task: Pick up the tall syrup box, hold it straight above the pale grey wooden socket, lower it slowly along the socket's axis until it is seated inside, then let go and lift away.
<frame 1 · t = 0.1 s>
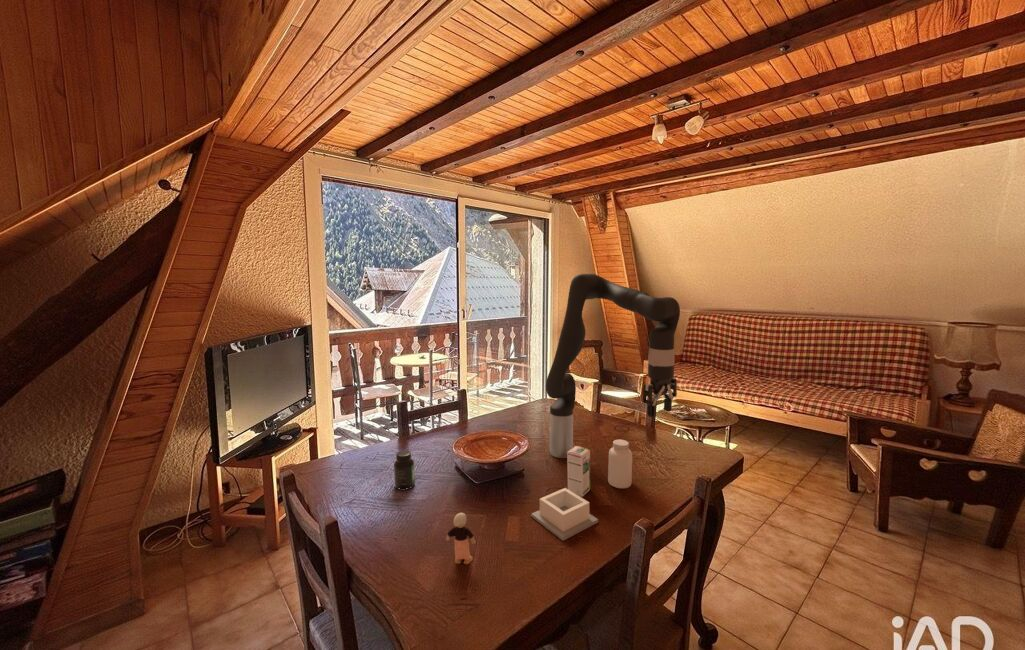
hand: (659, 413, 125), 29 cm above the table, fingers open, 8 cm apart
syrup box: (578, 491, 136), on the table
pill bottle: (619, 483, 141), on the table
supplement bottle: (405, 486, 141), on the table
grandmother figurine: (461, 560, 103), on the table
socket: (564, 519, 120), on the table
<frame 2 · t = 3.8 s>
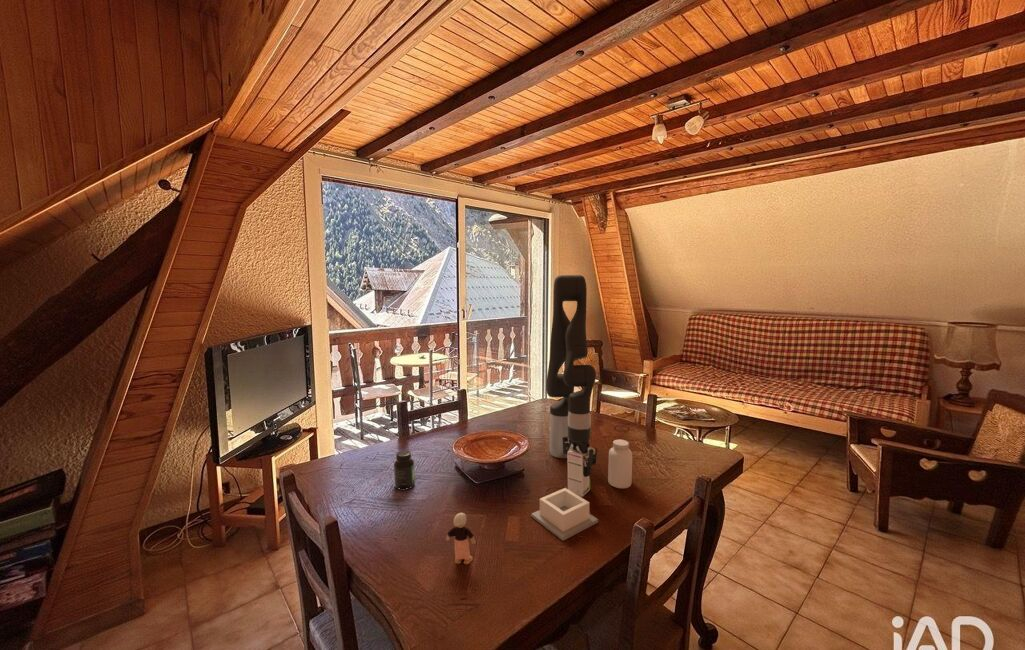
hand: (578, 471, 135), 7 cm above the table, fingers closed on syrup box, 6 cm apart
syrup box: (578, 491, 136), on the table, touching gripper
everything else where it was.
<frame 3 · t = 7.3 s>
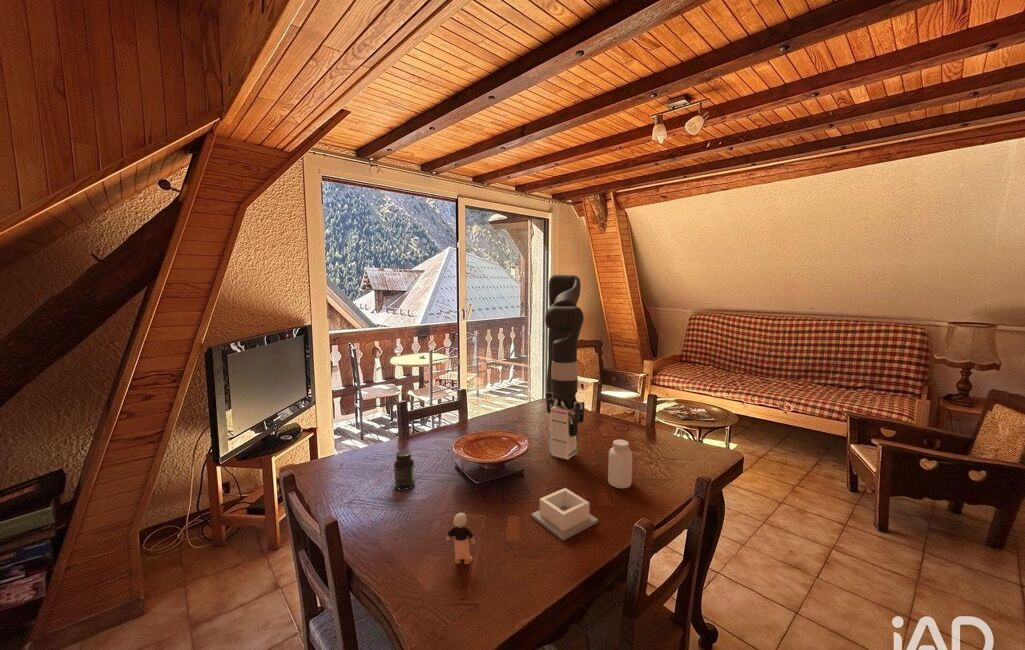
hand: (564, 431, 117), 27 cm above the table, fingers closed on syrup box, 6 cm apart
syrup box: (564, 454, 118), point 20 cm above the table, touching gripper
everything else where it was.
when the fingers open (9 cm above the table, at t = 11.2 s): syrup box drops 1 cm, resting on socket.
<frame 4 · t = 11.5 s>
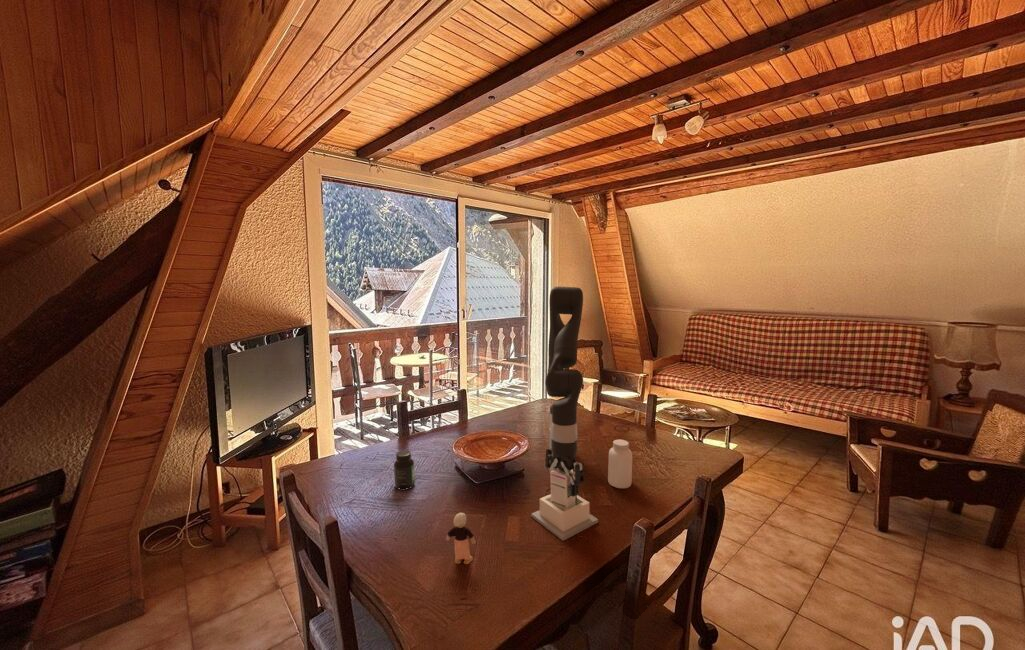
hand: (564, 489, 119), 10 cm above the table, fingers open, 8 cm apart
syrup box: (563, 516, 120), point 1 cm above the table, touching socket
everything else where it was.
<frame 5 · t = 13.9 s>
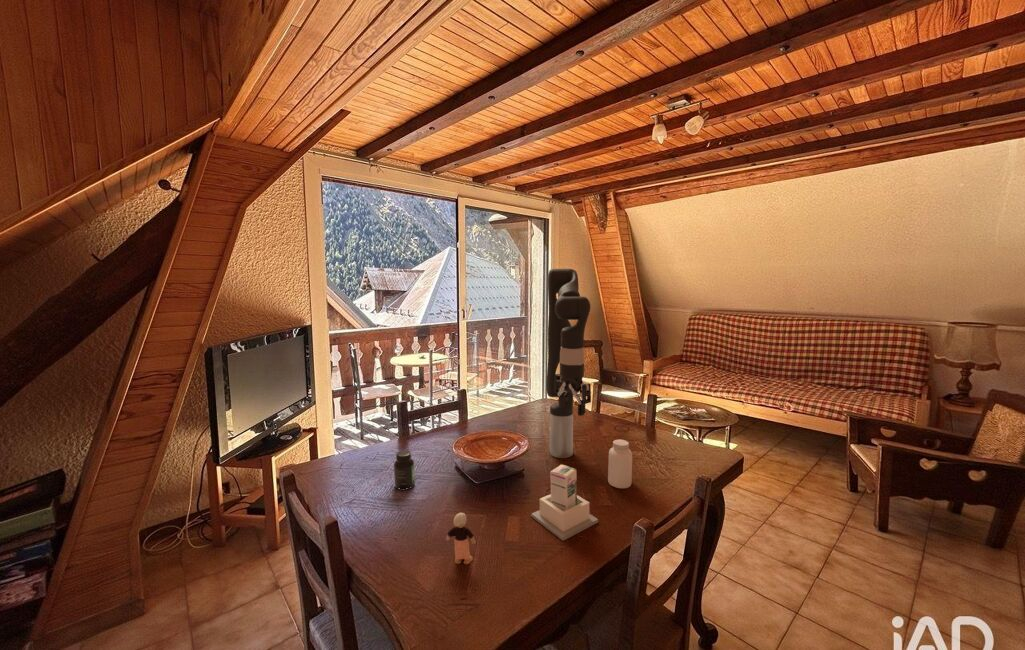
hand: (571, 411, 127), 30 cm above the table, fingers open, 8 cm apart
nothing on the table moved.
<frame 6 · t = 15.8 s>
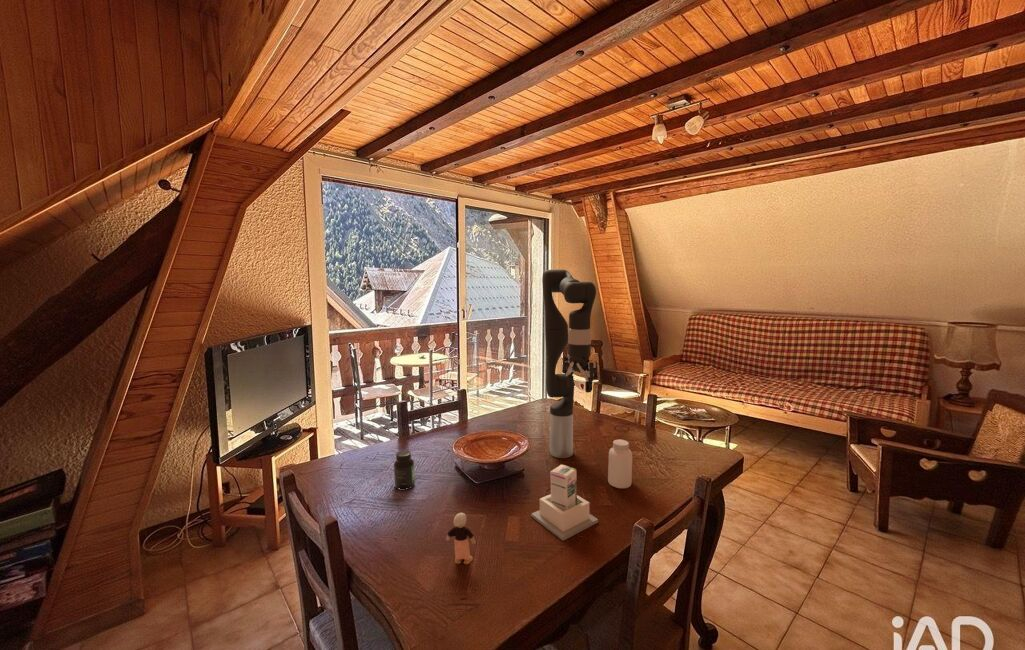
hand: (579, 389, 136), 34 cm above the table, fingers open, 8 cm apart
nothing on the table moved.
at the end: syrup box 0.3 cm off-centre on the socket, point 0.8 cm above the socket's base; syrup box tilted 0°; the gripper is holding nothing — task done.
